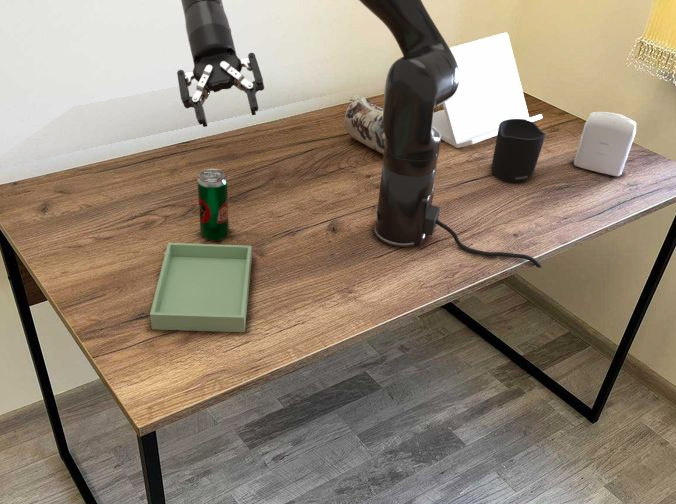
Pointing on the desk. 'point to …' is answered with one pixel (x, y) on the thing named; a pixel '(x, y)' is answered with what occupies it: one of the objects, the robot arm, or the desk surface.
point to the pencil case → (365, 123)
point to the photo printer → (605, 143)
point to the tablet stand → (482, 93)
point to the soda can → (213, 204)
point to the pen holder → (517, 150)
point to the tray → (202, 288)
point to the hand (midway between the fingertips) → (229, 118)
